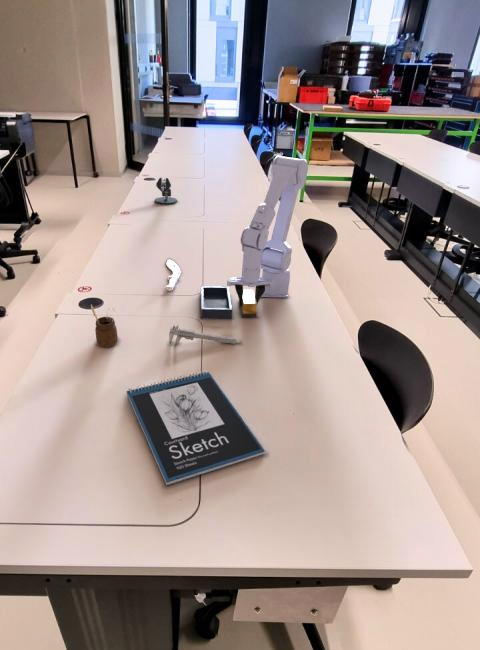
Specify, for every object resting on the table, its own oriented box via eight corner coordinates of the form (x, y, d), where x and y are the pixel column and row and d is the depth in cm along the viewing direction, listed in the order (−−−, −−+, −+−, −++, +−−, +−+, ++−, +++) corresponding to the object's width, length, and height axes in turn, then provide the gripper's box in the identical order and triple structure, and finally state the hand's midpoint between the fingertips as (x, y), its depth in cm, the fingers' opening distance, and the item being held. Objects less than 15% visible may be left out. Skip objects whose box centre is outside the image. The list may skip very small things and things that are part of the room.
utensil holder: (118, 347, 123) (114, 309, 116) (95, 348, 122) (90, 310, 116) (118, 336, 128) (114, 299, 121) (96, 337, 127) (91, 300, 120)
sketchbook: (166, 486, 84) (166, 479, 83) (125, 394, 106) (125, 387, 105) (264, 454, 91) (265, 447, 90) (207, 374, 114) (207, 367, 113)
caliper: (169, 345, 125) (168, 326, 122) (169, 343, 126) (168, 324, 122) (240, 343, 127) (241, 325, 123) (239, 341, 128) (241, 323, 124)
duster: (252, 302, 149) (253, 289, 146) (256, 317, 140) (257, 304, 137) (239, 301, 149) (240, 288, 146) (242, 317, 140) (243, 304, 137)
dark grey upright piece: (152, 207, 237) (151, 182, 230) (155, 198, 254) (155, 174, 247) (176, 208, 238) (175, 183, 231) (177, 198, 254) (177, 175, 247)
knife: (168, 256, 178) (187, 258, 177) (168, 260, 178) (187, 262, 178) (150, 285, 152) (172, 287, 152) (150, 290, 153) (172, 291, 152)
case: (228, 295, 152) (228, 286, 151) (231, 318, 139) (232, 309, 137) (200, 294, 152) (200, 286, 150) (201, 318, 138) (201, 309, 137)
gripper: (229, 271, 132) (226, 311, 140) (276, 272, 133) (271, 312, 140) (227, 262, 138) (225, 301, 146) (273, 263, 139) (268, 301, 146)
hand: (247, 305), depth 143 cm, fingers closed on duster, 4 cm apart
